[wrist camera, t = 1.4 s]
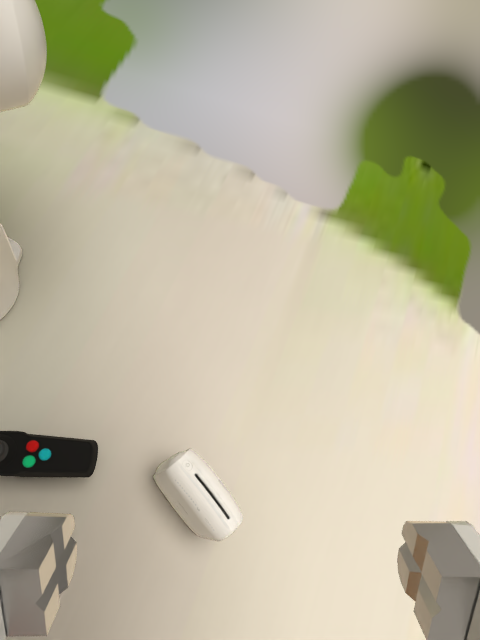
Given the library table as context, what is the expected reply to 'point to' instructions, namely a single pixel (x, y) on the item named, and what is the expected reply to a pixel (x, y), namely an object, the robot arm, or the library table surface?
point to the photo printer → (198, 495)
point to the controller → (46, 455)
